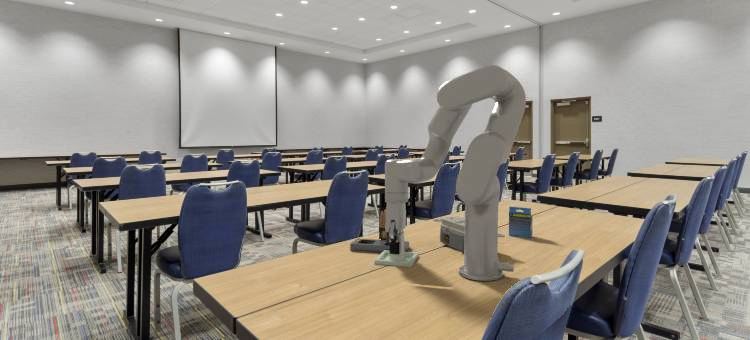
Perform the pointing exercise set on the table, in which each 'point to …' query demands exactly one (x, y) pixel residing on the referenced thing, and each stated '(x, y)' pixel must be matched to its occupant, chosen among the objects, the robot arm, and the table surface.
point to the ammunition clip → (382, 226)
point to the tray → (407, 261)
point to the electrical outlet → (453, 232)
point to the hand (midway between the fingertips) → (396, 250)
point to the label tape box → (520, 222)
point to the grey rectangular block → (401, 255)
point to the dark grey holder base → (374, 245)
